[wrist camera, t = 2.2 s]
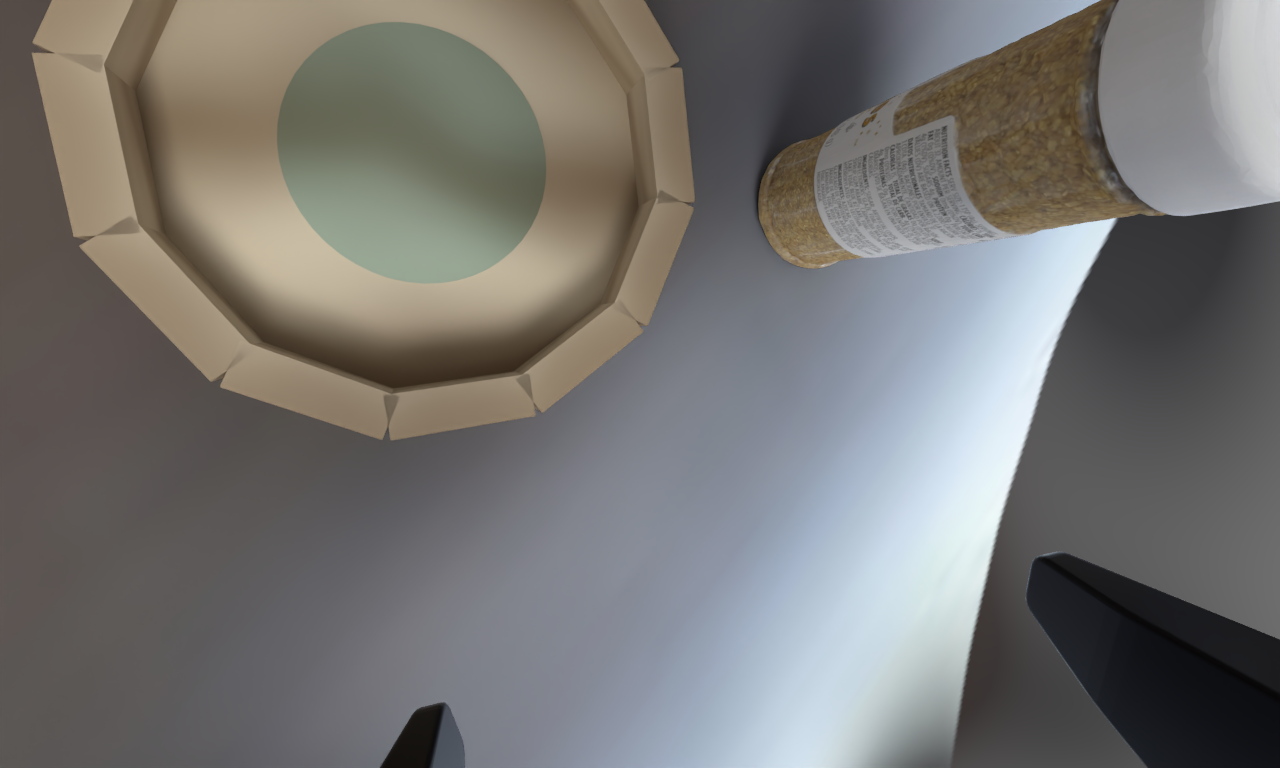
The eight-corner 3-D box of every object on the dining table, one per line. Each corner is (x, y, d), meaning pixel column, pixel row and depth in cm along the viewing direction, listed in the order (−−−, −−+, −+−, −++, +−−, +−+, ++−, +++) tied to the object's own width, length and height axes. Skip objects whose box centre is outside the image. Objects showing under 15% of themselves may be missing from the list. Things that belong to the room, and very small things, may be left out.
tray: (684, 380, 21) (713, 385, 19) (167, 464, 16) (130, 484, 14) (634, -92, 19) (660, -144, 17) (29, -162, 14) (-37, -246, 12)
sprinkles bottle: (836, 127, 22) (1383, -137, 10) (871, 247, 23) (1409, 147, 11) (733, 165, 21) (1210, -83, 8) (774, 290, 22) (1257, 236, 9)
